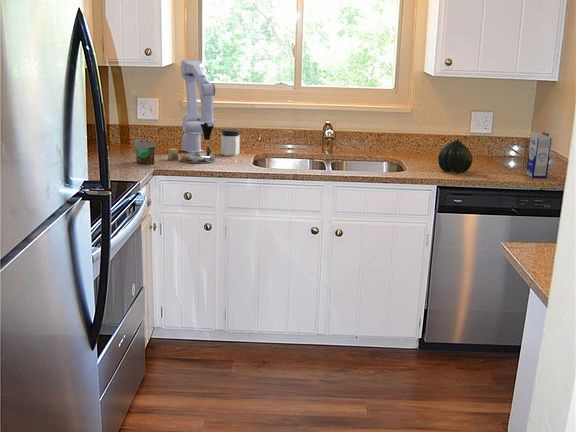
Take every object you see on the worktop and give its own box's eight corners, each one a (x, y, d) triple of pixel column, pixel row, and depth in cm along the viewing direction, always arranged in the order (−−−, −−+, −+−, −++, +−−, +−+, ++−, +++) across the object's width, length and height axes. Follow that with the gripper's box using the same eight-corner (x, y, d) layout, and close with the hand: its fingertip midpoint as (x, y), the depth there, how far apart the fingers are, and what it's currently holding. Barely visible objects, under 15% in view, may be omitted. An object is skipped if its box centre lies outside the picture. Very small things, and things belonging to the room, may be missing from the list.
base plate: (174, 159, 305) (173, 158, 305) (202, 156, 315) (202, 155, 315) (192, 165, 294) (192, 164, 294) (222, 161, 304) (222, 160, 304)
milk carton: (525, 174, 297) (531, 130, 292) (540, 174, 297) (546, 130, 292) (532, 178, 290) (538, 132, 285) (546, 178, 290) (553, 133, 285)
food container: (128, 162, 296) (127, 140, 293) (139, 160, 300) (139, 138, 297) (144, 166, 288) (143, 143, 285) (156, 164, 292) (155, 142, 289)
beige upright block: (167, 159, 305) (167, 148, 303) (174, 158, 307) (174, 147, 305) (171, 160, 302) (171, 149, 301) (178, 160, 304) (178, 148, 303)
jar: (242, 155, 321) (242, 130, 318) (228, 156, 316) (228, 131, 313) (232, 152, 328) (232, 128, 325) (218, 153, 323) (218, 129, 320)
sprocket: (184, 155, 312) (184, 143, 310) (216, 156, 311) (216, 144, 310) (178, 161, 297) (178, 148, 296) (211, 162, 297) (211, 150, 295)
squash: (451, 164, 285) (469, 137, 288) (427, 159, 298) (444, 134, 300) (466, 183, 293) (484, 157, 296) (442, 178, 306) (459, 153, 308)
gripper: (219, 112, 296) (218, 142, 299) (212, 108, 309) (212, 137, 313) (203, 112, 293) (203, 142, 297) (197, 108, 307) (197, 137, 310)
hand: (207, 139), depth 305 cm, fingers closed
